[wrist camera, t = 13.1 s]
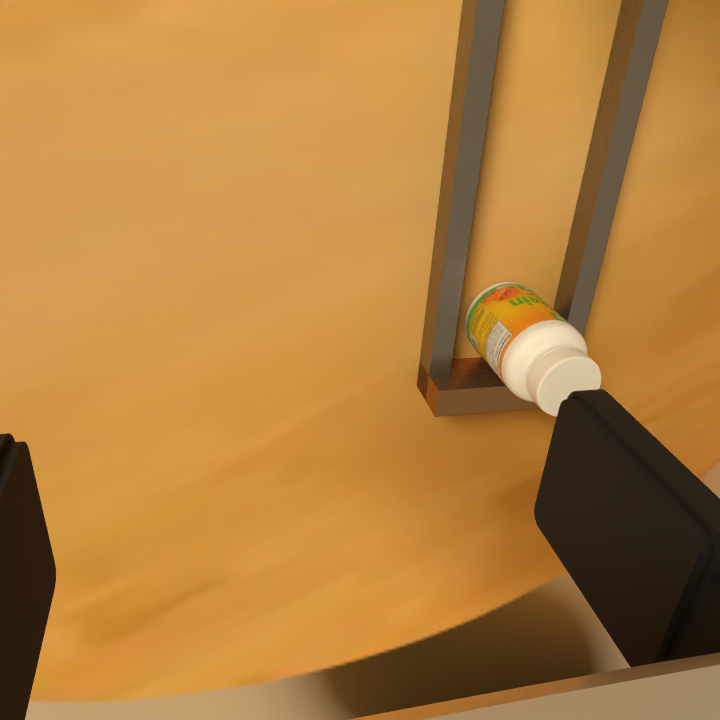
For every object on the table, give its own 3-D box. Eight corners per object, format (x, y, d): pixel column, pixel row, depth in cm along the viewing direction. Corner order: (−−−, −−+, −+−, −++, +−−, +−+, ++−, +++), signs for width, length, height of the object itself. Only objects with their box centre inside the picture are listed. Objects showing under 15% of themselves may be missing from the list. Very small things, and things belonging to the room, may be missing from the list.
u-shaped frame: (468, -44, 33) (499, -48, 30) (652, -27, 36) (700, -29, 33) (416, 385, 46) (435, 416, 42) (556, 376, 48) (584, 404, 45)
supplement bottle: (547, 286, 44) (629, 351, 36) (519, 354, 47) (590, 431, 38) (478, 273, 43) (547, 339, 34) (452, 345, 45) (512, 423, 37)
